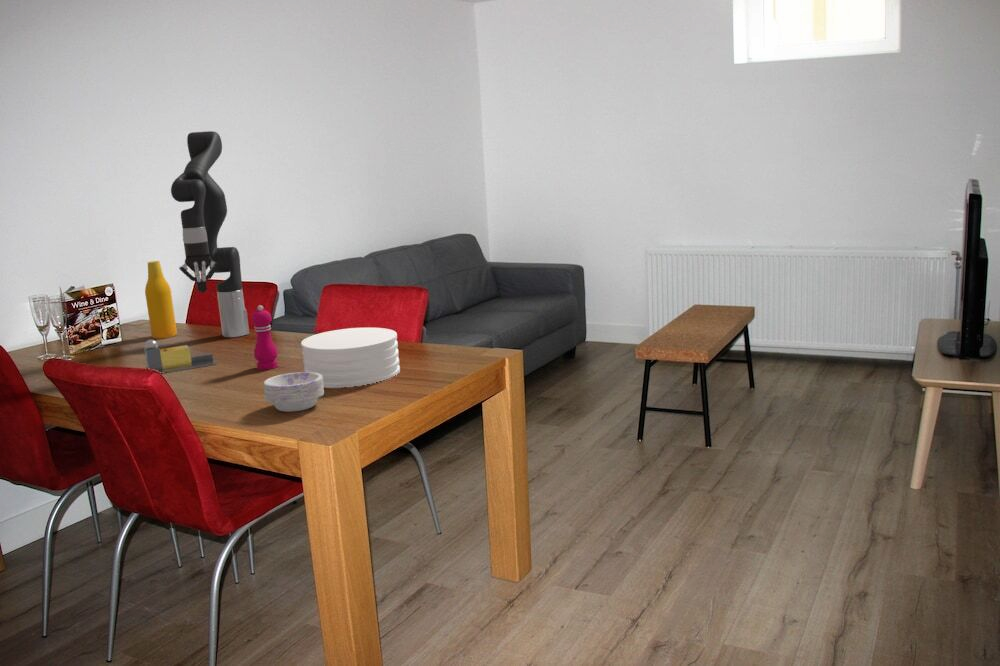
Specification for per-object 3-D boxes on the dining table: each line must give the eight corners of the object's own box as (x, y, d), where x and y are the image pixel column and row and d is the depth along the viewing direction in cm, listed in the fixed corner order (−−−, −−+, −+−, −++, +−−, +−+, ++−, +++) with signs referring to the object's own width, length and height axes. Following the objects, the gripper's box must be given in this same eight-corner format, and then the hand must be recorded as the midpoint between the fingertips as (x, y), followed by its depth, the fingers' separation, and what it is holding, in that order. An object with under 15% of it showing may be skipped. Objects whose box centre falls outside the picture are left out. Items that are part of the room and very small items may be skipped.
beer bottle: (182, 334, 329) (171, 260, 323) (162, 339, 321) (150, 263, 315) (167, 332, 334) (156, 259, 328) (146, 338, 326) (135, 263, 320)
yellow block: (189, 361, 281) (186, 344, 280) (191, 364, 276) (189, 347, 275) (160, 365, 277) (157, 348, 276) (162, 369, 272) (160, 352, 271)
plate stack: (418, 367, 258) (415, 330, 256) (359, 392, 235) (355, 352, 233) (347, 360, 273) (344, 325, 270) (285, 383, 249) (280, 345, 247)
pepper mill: (250, 369, 267) (242, 307, 263) (267, 363, 274) (259, 302, 269) (268, 371, 264) (260, 308, 260) (284, 365, 270) (276, 303, 266)
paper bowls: (316, 395, 235) (313, 367, 233) (332, 408, 221) (329, 379, 220) (260, 405, 228) (257, 377, 226) (274, 420, 214) (270, 389, 213)
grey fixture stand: (209, 357, 287) (205, 328, 285) (216, 364, 277) (211, 334, 275) (146, 367, 278) (141, 337, 276) (150, 375, 268) (145, 344, 265)
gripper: (176, 243, 275) (183, 296, 278) (218, 239, 280) (225, 291, 284) (172, 242, 281) (180, 293, 285) (214, 238, 287) (220, 288, 291)
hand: (202, 292), depth 285 cm, fingers closed
